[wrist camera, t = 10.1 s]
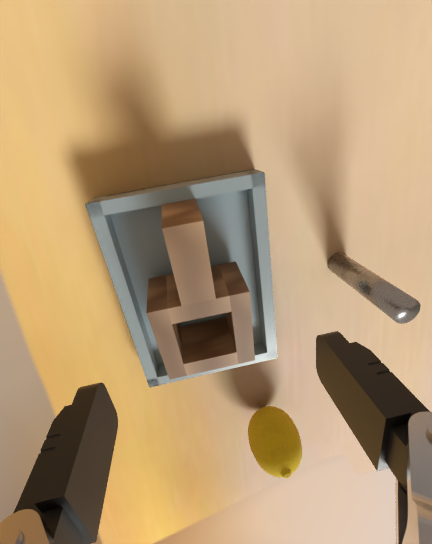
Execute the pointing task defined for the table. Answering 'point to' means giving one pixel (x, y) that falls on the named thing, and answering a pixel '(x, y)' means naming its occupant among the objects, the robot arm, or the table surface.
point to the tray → (155, 259)
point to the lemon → (275, 441)
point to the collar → (197, 301)
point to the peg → (375, 289)
